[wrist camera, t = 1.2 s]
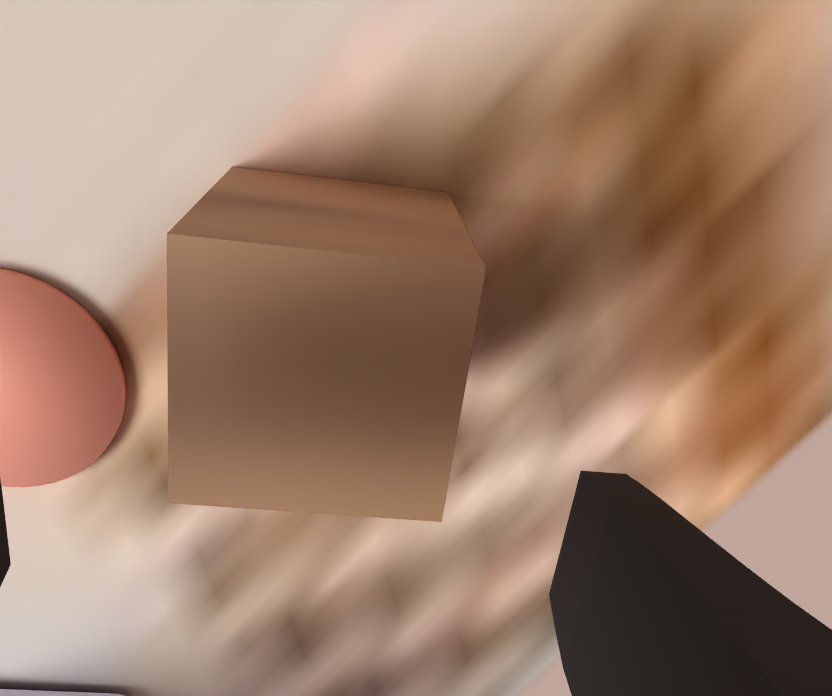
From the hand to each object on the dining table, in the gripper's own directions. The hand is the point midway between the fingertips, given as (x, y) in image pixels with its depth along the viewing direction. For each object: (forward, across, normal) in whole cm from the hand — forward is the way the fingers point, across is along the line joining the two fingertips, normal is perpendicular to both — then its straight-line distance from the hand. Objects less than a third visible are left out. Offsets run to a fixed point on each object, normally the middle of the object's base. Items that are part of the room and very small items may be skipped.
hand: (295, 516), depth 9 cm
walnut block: (+10, 0, 0) cm, 10 cm away
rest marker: (+9, +8, +4) cm, 13 cm away
